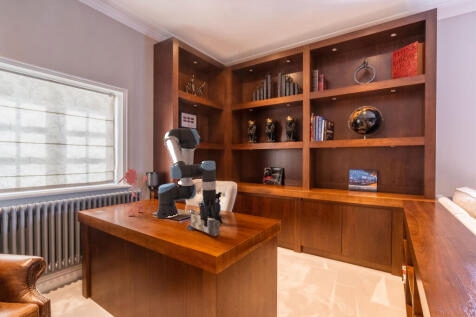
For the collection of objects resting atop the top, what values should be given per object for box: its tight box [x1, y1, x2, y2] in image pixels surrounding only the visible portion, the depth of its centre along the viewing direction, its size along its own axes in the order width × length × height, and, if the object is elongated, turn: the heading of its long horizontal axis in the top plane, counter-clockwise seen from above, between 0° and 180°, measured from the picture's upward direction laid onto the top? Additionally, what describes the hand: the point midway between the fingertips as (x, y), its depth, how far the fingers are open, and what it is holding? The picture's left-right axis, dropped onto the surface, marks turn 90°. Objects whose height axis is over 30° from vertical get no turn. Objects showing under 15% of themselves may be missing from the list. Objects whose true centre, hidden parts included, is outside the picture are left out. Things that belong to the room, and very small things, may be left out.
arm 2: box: [194, 213, 221, 236], centre depth 132 cm, size 22×2×7 cm, turn 43°
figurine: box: [117, 168, 150, 217], centre depth 178 cm, size 15×26×35 cm, turn 161°
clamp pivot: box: [186, 209, 197, 231], centre depth 141 cm, size 5×5×11 cm
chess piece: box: [208, 191, 224, 224], centre depth 151 cm, size 8×8×20 cm
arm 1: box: [192, 215, 218, 237], centre depth 131 cm, size 22×2×7 cm, turn 44°
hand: (210, 231), depth 128 cm, fingers open, 3 cm apart
